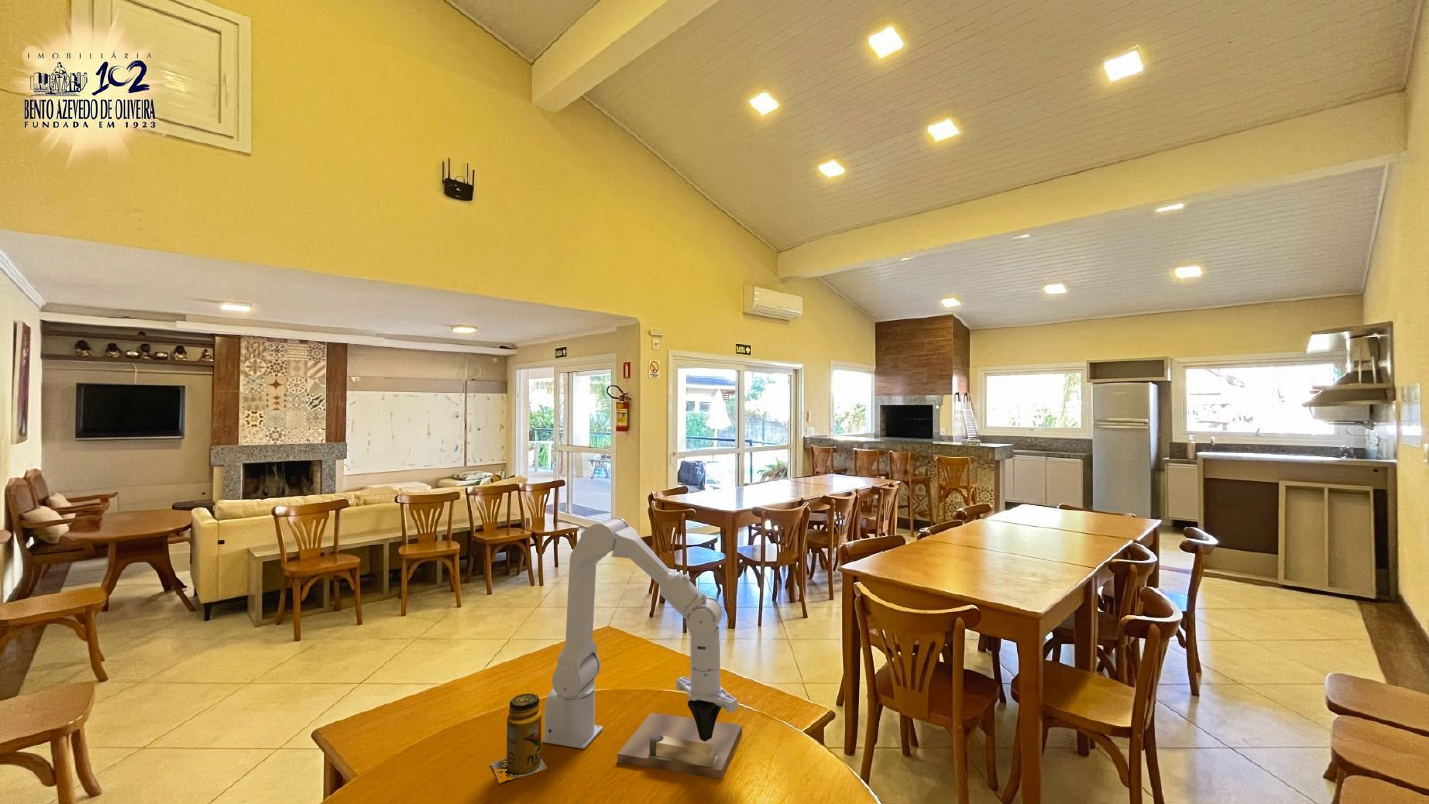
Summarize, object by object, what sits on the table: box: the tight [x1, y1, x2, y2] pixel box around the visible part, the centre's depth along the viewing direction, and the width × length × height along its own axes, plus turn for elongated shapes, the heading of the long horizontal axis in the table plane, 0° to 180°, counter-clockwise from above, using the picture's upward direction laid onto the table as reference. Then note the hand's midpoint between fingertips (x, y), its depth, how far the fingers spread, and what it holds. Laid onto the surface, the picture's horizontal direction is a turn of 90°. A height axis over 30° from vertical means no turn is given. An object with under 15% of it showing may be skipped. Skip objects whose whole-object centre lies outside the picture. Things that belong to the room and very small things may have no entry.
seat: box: [617, 712, 743, 780], centre depth 108 cm, size 20×16×2 cm
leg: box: [650, 735, 714, 766], centre depth 102 cm, size 12×3×2 cm, turn 70°
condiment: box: [489, 692, 548, 779], centre depth 102 cm, size 7×8×12 cm
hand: (705, 738), depth 106 cm, fingers closed
